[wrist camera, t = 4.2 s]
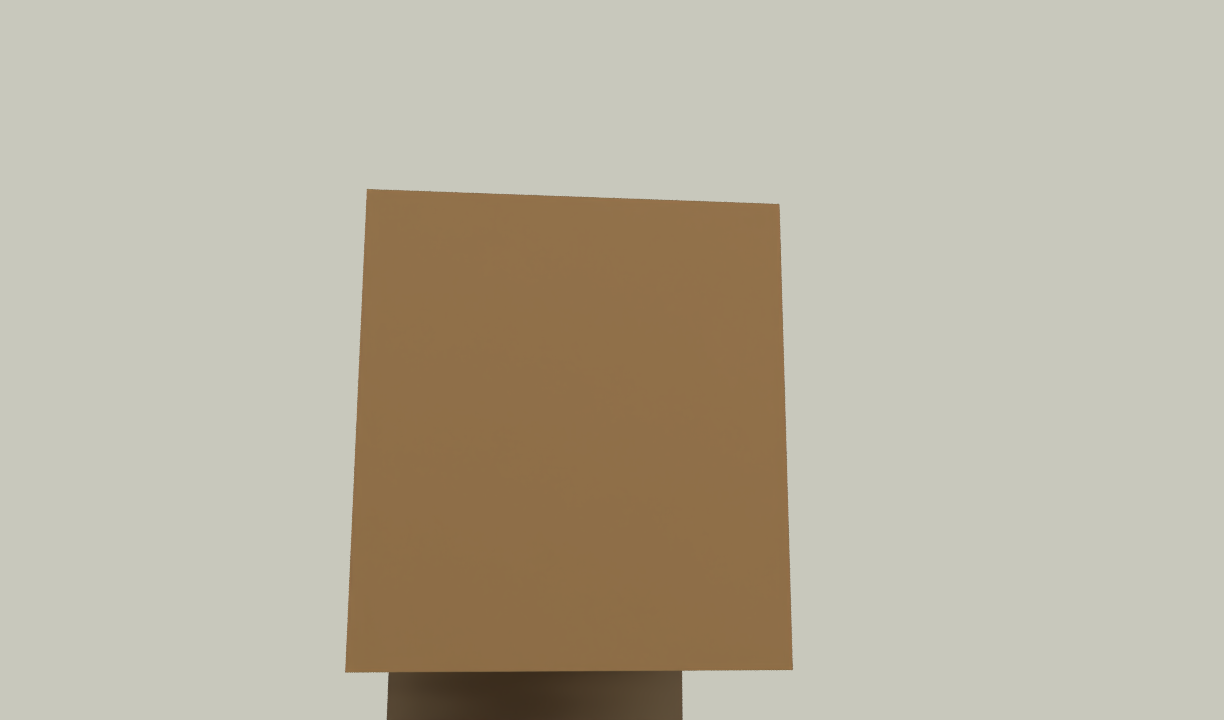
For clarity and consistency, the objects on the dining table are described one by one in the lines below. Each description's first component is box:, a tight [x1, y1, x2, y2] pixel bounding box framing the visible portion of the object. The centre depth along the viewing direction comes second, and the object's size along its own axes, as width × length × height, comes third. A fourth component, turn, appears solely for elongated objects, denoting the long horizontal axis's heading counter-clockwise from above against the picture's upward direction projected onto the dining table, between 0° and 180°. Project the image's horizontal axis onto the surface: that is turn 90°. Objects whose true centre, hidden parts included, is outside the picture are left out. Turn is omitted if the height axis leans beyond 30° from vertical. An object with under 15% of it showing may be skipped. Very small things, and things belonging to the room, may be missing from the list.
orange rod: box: [345, 189, 793, 672], centre depth 23 cm, size 4×22×5 cm, turn 6°
